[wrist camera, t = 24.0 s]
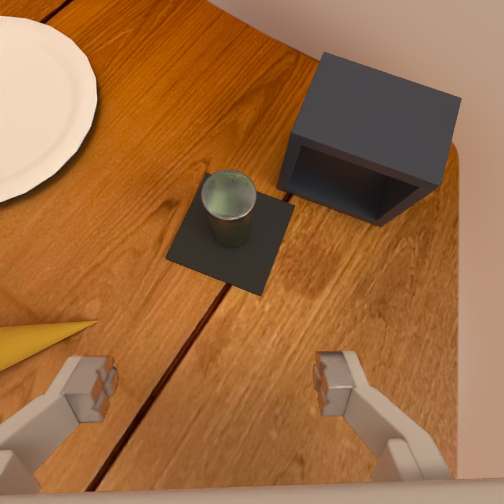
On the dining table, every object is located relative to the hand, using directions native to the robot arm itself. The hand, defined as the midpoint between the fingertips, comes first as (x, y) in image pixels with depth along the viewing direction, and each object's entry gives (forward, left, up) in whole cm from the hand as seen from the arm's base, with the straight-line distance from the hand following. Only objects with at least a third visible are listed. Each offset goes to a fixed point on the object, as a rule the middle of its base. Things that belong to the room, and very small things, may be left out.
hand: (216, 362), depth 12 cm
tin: (+5, -12, -20) cm, 24 cm away
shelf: (-5, -24, -21) cm, 32 cm away
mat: (+5, -12, -21) cm, 24 cm away
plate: (+41, -15, -21) cm, 48 cm away
